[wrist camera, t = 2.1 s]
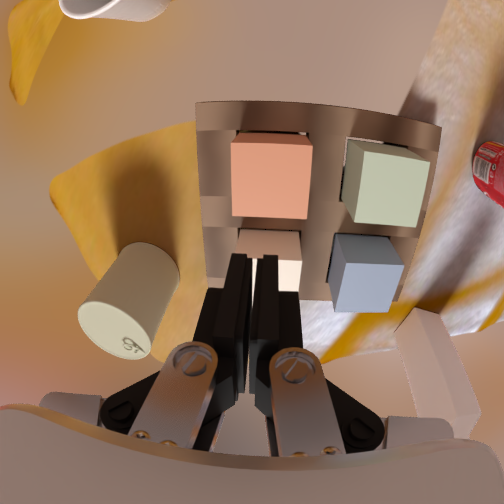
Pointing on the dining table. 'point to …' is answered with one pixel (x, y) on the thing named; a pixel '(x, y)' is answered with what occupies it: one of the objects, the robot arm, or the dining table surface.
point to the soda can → (490, 170)
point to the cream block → (274, 244)
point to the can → (130, 301)
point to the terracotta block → (270, 175)
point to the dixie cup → (114, 9)
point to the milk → (436, 372)
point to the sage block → (383, 183)
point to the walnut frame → (321, 182)
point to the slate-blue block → (363, 273)
